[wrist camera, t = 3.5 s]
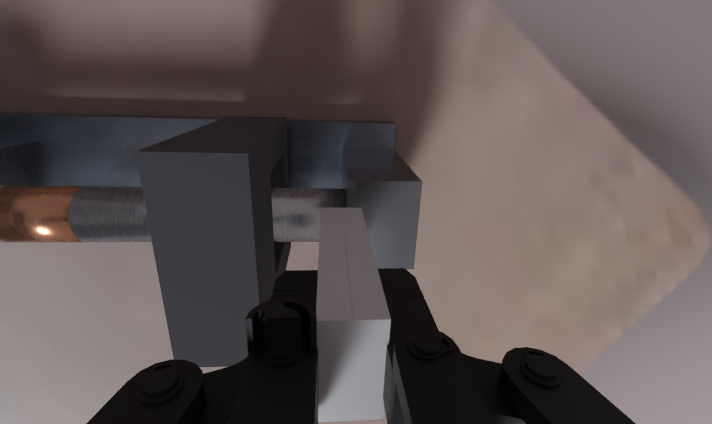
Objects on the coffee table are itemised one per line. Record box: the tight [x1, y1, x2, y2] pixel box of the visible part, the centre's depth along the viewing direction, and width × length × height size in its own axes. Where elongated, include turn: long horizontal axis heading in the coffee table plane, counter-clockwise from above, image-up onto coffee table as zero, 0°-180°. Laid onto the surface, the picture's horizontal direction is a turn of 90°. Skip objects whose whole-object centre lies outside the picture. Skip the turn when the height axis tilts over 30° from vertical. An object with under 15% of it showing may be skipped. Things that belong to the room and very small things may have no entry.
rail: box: [0, 113, 422, 269], centre depth 18 cm, size 23×7×7 cm, turn 88°
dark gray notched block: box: [135, 116, 291, 367], centre depth 16 cm, size 3×8×10 cm, turn 178°
